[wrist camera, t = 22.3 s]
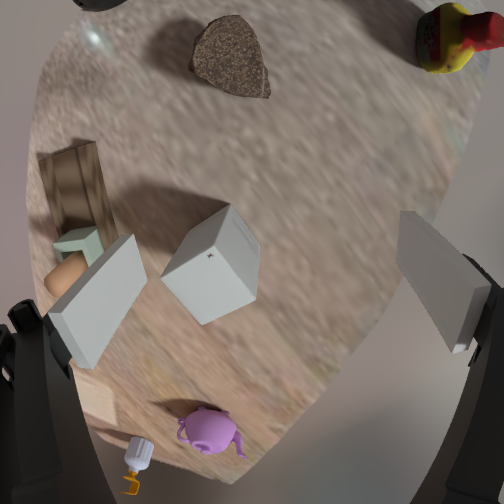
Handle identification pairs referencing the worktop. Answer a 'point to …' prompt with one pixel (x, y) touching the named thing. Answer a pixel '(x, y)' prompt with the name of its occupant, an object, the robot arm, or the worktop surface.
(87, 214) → the brown long open box
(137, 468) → the soap bottle
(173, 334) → the worktop surface
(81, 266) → the dowel
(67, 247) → the socket block
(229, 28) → the rock
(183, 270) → the supplement box
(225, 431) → the teapot
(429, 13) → the bottle
